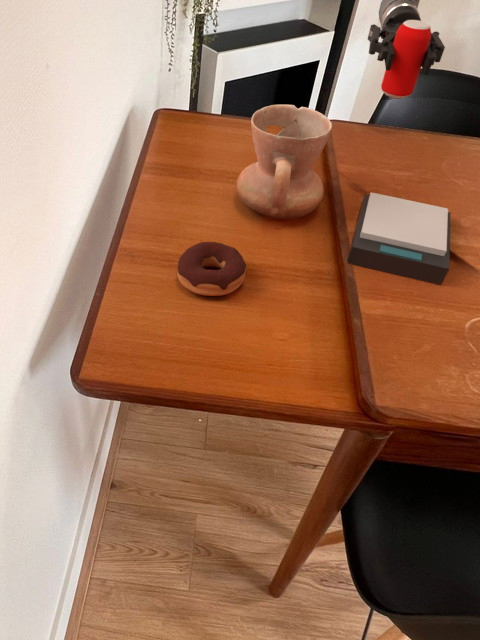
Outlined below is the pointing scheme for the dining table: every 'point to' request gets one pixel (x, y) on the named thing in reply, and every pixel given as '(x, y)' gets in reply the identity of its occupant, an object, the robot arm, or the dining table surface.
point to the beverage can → (406, 58)
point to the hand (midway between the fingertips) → (409, 64)
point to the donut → (211, 280)
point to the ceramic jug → (285, 162)
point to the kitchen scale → (402, 238)
